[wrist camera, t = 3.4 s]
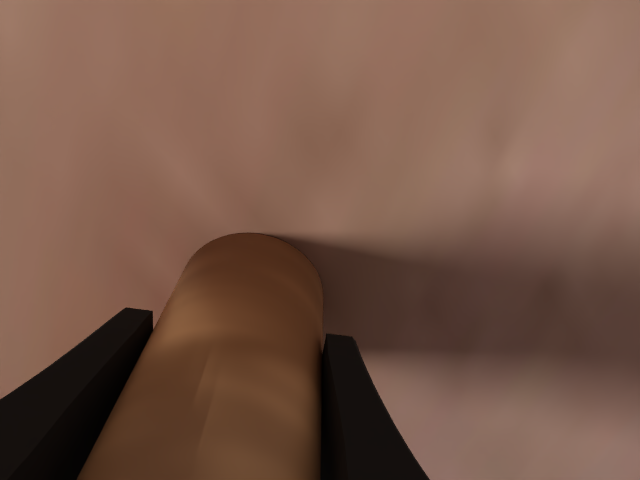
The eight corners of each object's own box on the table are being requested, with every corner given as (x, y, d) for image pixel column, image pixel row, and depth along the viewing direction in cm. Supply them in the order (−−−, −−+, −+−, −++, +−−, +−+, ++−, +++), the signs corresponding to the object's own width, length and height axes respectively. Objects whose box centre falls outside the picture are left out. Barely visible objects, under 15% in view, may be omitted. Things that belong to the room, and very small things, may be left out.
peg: (333, 244, 12) (342, 583, 5) (312, 357, 14) (297, 719, 7) (181, 223, 12) (-22, 548, 5) (180, 341, 14) (30, 697, 7)
